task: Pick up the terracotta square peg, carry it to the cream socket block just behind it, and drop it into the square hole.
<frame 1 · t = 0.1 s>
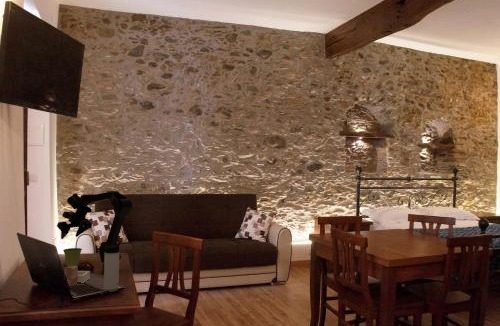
hand: (69, 237, 225), 15 cm above the table, tool tilted 35°, fingers open, 9 cm apart
socket block: (78, 281, 194), on the table
travel mug: (111, 290, 183), on the table
plant pot: (72, 266, 224), on the table
peg: (70, 286, 186), on the table
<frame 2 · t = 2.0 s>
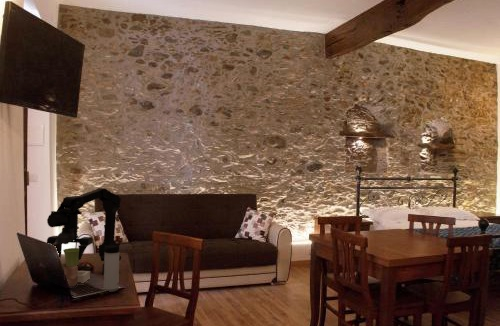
hand: (69, 259, 187), 12 cm above the table, tool pointing down, fingers open, 9 cm apart
nothing on the table moved.
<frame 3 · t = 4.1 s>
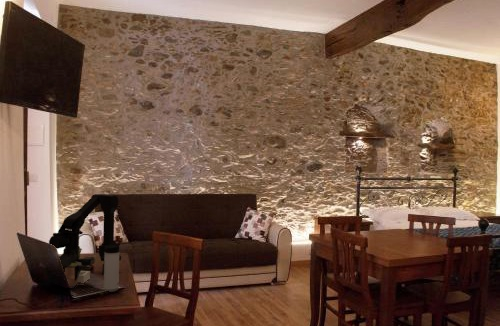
hand: (71, 280, 186), 3 cm above the table, tool pointing down, fingers closed on peg, 4 cm apart
peg: (70, 286, 186), on the table, touching gripper
everything else where it was.
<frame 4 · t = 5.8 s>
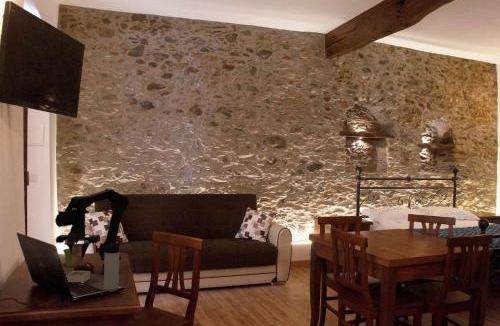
hand: (78, 257, 193), 12 cm above the table, tool pointing down, fingers closed on peg, 4 cm apart
peg: (78, 263, 193), point 9 cm above the table, touching gripper
everything else where it was.
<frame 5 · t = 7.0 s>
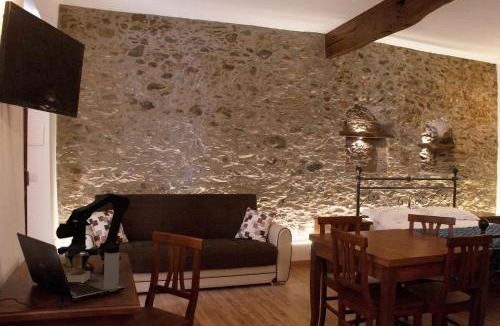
hand: (78, 269, 194), 6 cm above the table, tool pointing down, fingers closed on peg, 4 cm apart
peg: (78, 275, 194), point 3 cm above the table, touching gripper
everything else where it was.
when the fingers open (5 cm above the table, at t = 7.9 s): peg drops 2 cm, resting in socket block.
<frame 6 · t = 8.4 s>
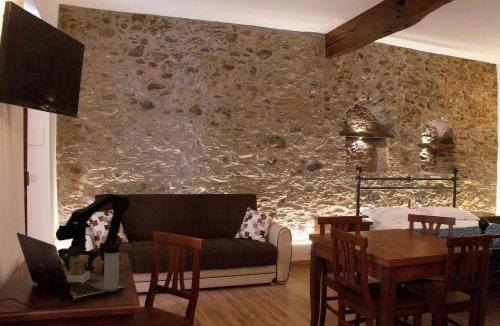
hand: (78, 271, 194), 5 cm above the table, tool pointing down, fingers open, 9 cm apart
peg: (78, 281, 194), resting in socket block
everything else where it was.
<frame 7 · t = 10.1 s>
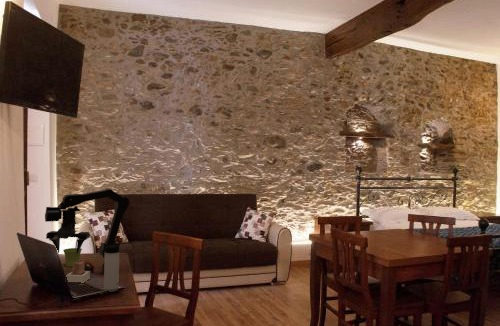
hand: (67, 253, 199), 12 cm above the table, tool pointing down, fingers open, 9 cm apart
nothing on the table moved.
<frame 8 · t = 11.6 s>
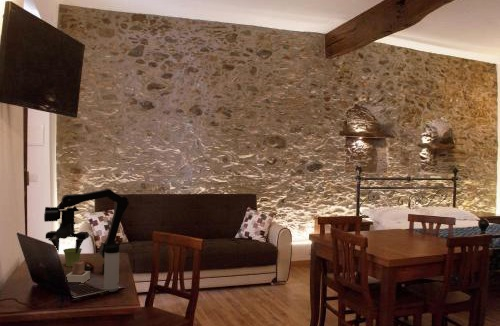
hand: (67, 253, 200), 12 cm above the table, tool pointing down, fingers open, 9 cm apart
nothing on the table moved.
at the end: peg 0.0 cm off-centre on the socket block, point 0.0 cm above the socket block's base; peg tilted 0°; the gripper is holding nothing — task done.
